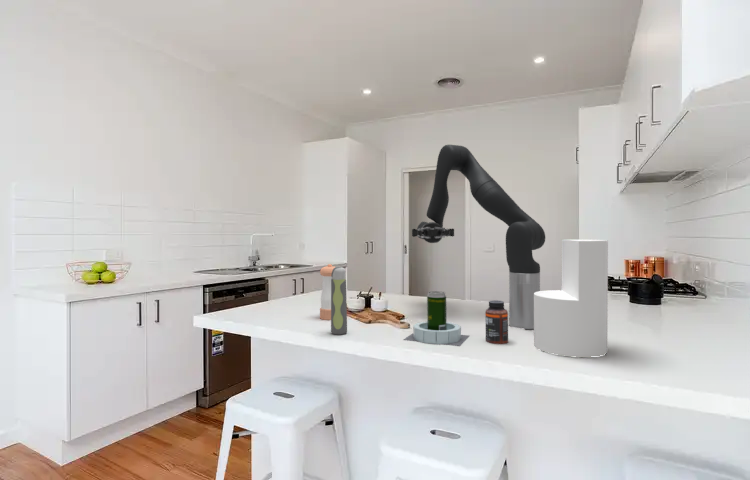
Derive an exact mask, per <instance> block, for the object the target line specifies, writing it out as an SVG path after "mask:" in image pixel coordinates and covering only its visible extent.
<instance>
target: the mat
mask: <svg viewBox="0 0 750 480" xmlns="http://www.w3.org/2000/svg"><path fill="white" fill-rule="evenodd" d="M469 337H470V335H469V334H468V335H467V334H461V339H460V340H459V341H458V342H454V343H450V344H449V343H448V344H442V345H443V346H453V347H461V346H462V345H463V344H464V343H465V341H467V340H468V338H469ZM402 341H407V342H408V341H409V342H416V343H417V342H418V343H421V342H420V341H417V340H415V339H414V337H413V333H411V334H410V335H408V336H406V337H405V338H403V339H402Z"/></svg>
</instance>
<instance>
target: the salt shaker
mask: <svg viewBox="0 0 750 480" xmlns="http://www.w3.org/2000/svg"><path fill="white" fill-rule="evenodd" d="M335 267H336V266H334V265H332V264H331V263H328V264H327V265H326V266H323V267H321V269H320V271H319V274H320V275H321V278H322V282H321V284H322V285H321V286H322V287H321V293H320V307H319V317H320V320H323V321H331V279H332V276H331V275H332V271H333V269H334V268H335Z"/></svg>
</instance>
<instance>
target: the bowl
mask: <svg viewBox="0 0 750 480" xmlns="http://www.w3.org/2000/svg"><path fill="white" fill-rule="evenodd" d="M446 327H447V330H427V320H426V321H421V322H417V323H415V324H413V325H412V328H413V329H412V332H413V333H412V334H413V337H414V339H415V340H417V341H420V342H419V343H422V344H423V343H424V344H432V345H443V344H448V343H449V344H450V343H454V342H458V341H459V340H460V339H461V335H462V326H460V324H457V323H455V322H452V321H446Z"/></svg>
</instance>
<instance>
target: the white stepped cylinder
mask: <svg viewBox="0 0 750 480" xmlns="http://www.w3.org/2000/svg"><path fill="white" fill-rule="evenodd" d="M608 259H609V240H607V239H561V290H560V289H557V290H556V289H555V290H554V289H553V290H552V289H551V290H550V289H549V290H540V291H538V292H535V293H534V329H533V347H534V346H535V347H536V348H537V349H536V348H535V347H534V348H535V349H536V350H538V349H540V350H542V351H546V352H549V353H554V354H558V355H565V356H576V357H591V356H600V355H604V354H605V353H607V354H608V328H609V326H608V325H609V323H608V321H609V320H608V316H609V314H608V311H609V309H608V305H609V303H608V302H609V301H608V300H609V299H608V297H609V296H608V293H609V292H608V289H609V287H608V285H609V284H608V283H609V281H608V280H609V269H608V268H609V260H608ZM540 350H539V351H540ZM542 351H541V352H542ZM604 356H605V355H604Z"/></svg>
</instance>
